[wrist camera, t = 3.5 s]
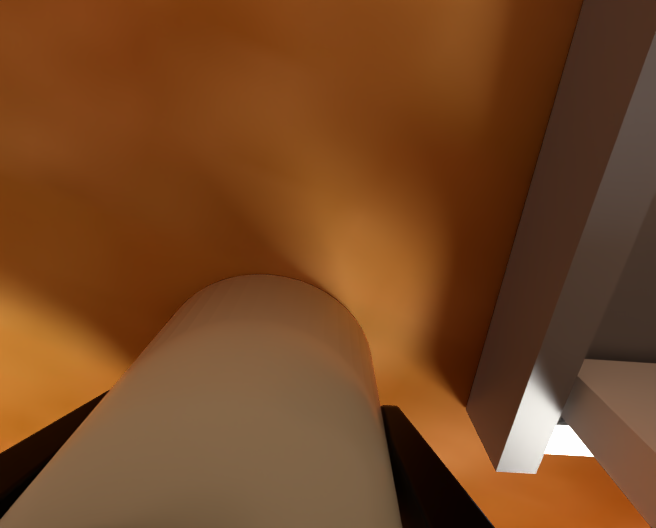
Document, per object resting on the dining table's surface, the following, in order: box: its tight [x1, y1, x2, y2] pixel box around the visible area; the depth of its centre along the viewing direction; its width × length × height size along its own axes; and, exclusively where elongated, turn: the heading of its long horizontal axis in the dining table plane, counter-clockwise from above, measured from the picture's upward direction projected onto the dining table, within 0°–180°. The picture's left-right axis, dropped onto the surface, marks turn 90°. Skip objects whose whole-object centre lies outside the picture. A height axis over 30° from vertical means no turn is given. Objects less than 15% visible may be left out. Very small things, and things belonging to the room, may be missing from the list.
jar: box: [0, 274, 402, 528], centre depth 6 cm, size 6×6×7 cm
